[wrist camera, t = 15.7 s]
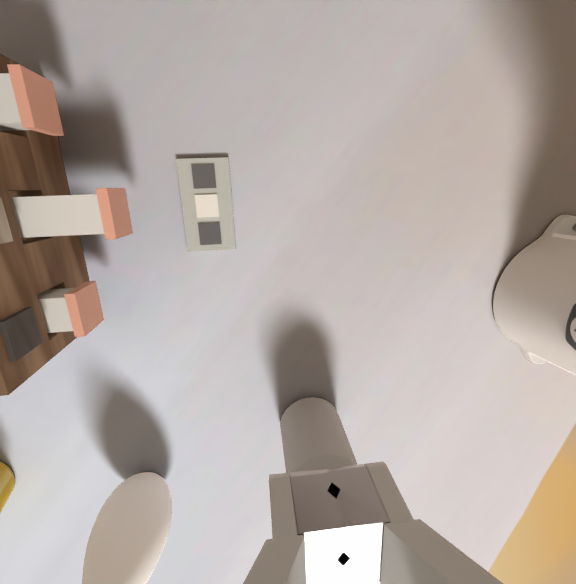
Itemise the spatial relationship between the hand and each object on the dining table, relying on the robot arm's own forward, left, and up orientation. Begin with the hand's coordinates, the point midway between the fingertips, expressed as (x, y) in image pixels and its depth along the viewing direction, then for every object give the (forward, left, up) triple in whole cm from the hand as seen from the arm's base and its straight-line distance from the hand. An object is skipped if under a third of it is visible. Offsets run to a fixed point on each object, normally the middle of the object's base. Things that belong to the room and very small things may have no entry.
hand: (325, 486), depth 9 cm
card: (+6, -6, -29) cm, 30 cm away
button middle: (+17, -6, -24) cm, 30 cm away
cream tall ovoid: (+17, +28, -29) cm, 44 cm away
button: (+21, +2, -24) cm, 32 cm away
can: (-4, +21, -29) cm, 36 cm away
